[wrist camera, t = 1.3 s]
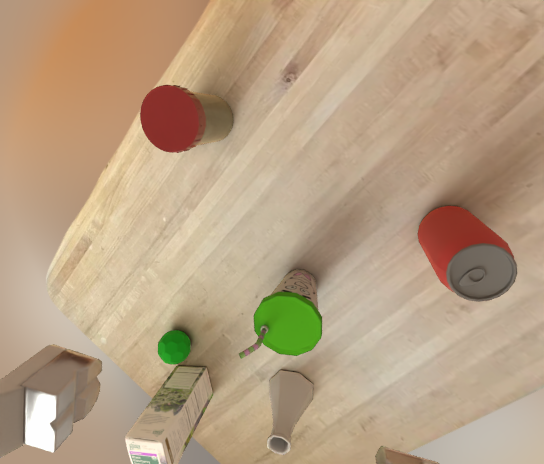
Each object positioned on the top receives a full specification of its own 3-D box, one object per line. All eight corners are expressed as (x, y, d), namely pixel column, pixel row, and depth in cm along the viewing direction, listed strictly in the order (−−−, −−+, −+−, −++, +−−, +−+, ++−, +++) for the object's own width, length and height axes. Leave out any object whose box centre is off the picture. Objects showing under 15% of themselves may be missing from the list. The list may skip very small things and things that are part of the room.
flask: (304, 413, 55) (295, 474, 45) (263, 395, 55) (245, 451, 46) (321, 381, 52) (314, 438, 43) (277, 362, 52) (261, 414, 43)
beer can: (405, 226, 42) (424, 266, 31) (454, 193, 39) (495, 223, 28) (438, 266, 42) (468, 319, 31) (488, 235, 40) (541, 281, 29)
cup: (336, 269, 46) (329, 336, 32) (318, 316, 48) (304, 396, 35) (280, 250, 46) (250, 308, 33) (266, 297, 49) (233, 369, 35)
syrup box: (183, 392, 59) (133, 473, 45) (176, 363, 57) (122, 439, 44) (214, 393, 57) (172, 478, 44) (207, 364, 56) (161, 443, 42)
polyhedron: (191, 323, 54) (176, 342, 49) (199, 350, 55) (186, 370, 51) (163, 325, 55) (147, 343, 51) (172, 351, 56) (157, 371, 52)
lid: (175, 71, 33) (166, 69, 31) (219, 121, 33) (212, 122, 32) (137, 117, 35) (127, 117, 34) (179, 164, 36) (171, 166, 34)
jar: (211, 84, 41) (169, 75, 32) (242, 120, 42) (209, 121, 32) (182, 117, 43) (135, 117, 34) (212, 151, 44) (173, 160, 34)
